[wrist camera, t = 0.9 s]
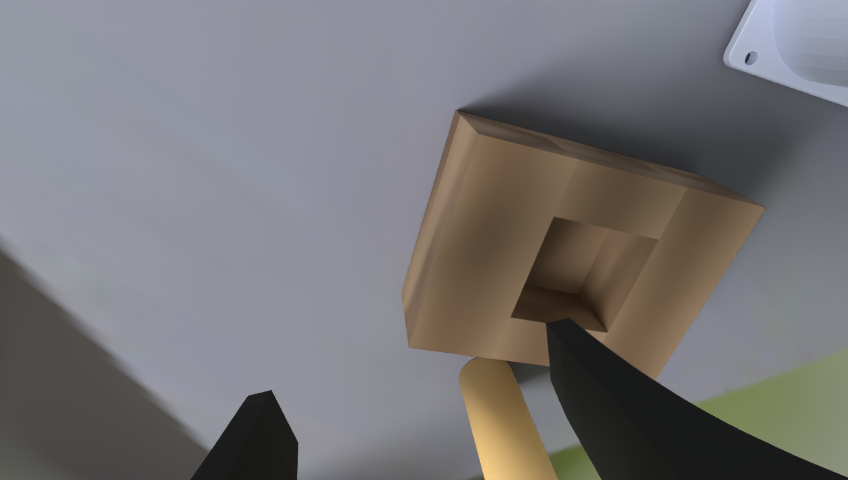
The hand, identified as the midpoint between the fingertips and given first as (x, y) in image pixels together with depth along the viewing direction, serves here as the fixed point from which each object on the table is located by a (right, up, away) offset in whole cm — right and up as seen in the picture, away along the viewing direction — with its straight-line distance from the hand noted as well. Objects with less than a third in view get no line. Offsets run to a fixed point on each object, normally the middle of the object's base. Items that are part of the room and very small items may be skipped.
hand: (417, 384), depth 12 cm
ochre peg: (+4, -4, +13) cm, 14 cm away
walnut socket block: (+6, +4, +10) cm, 12 cm away
